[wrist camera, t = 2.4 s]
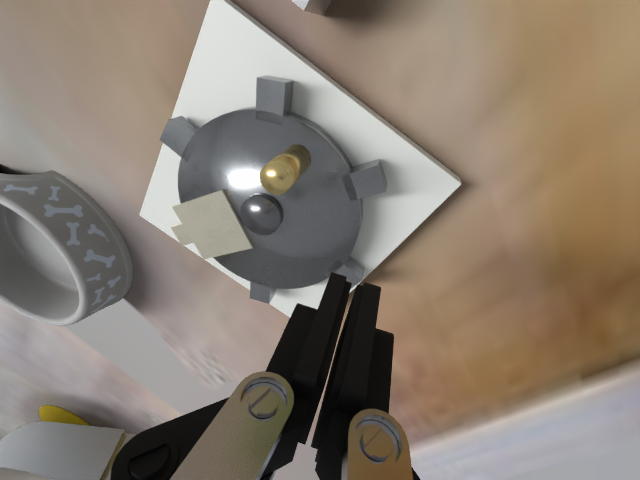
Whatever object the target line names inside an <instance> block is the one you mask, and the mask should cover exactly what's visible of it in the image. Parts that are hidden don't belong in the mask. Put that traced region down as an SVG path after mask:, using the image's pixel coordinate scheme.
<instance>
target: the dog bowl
mask: <svg viewBox="0 0 640 480" xmlns="http://www.w3.org/2000/svg"><path fill="white" fill-rule="evenodd" d="M132 280H133V266H132V260H131V256H130V253H129V250H128V248H127V245H126V243H125V241H124V239H123V237H122V235H121V234H120V232H119V230H118V229H117V227H116V226H115V224H114V223H113V221H112V220H111V219H110V218H109V216H108V215H107V214H106V213H105V212H104V210H103V209H102V208H101V207H100V206H99V205H98V204H97V203H96V202H95V201H94V200H93V199H92V198H91V197H90V196H89V195H88V194H87V193H85V192H84V191H83V190H82V189H81V188H79V187H78V186H77V185H76V184H74V183H73V182H71V181H70V180H68V179H67V178H65V177H64V176H62V175H60V174H59V173H57V172H55V171H49V172H45V173H39V174H30V175H10V174H2V173H0V301H1V302H3V303H4V304H6V305H7V306H9V307H10V308H12V309H13V310H15V311H17V312H18V313H20V314H22V315H24V316H26V317H28V318H31V319H33V320H36V321H38V322H41V323H45V324H49V325H55V326H66V325H71V324H74V323H77V322H79V321H80V320H82V319H84V318H86V317H88V316H90V315H92V314H93V313H95V312H97V311H99V310H101V309H103V308H105V307H107V306H109V305H112V304H114V303H116V302H118V301H120V300H121V299H122V298H123V297H124V296H125V295H126V294H127V293H128V291H129V289H130V287H131V284H132Z"/></svg>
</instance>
